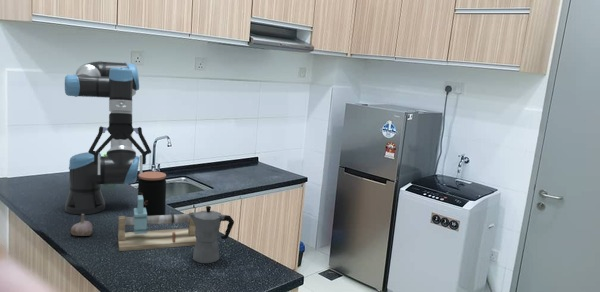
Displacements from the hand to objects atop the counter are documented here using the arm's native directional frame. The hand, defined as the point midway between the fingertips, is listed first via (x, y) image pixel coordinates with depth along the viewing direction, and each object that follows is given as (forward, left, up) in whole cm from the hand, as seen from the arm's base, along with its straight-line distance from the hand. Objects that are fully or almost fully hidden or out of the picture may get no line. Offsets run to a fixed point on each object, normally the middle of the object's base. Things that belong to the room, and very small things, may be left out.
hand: (120, 174), depth 163 cm
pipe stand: (+4, +13, -24) cm, 27 cm away
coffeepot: (+22, +28, -24) cm, 43 cm away
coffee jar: (-21, +13, -24) cm, 34 cm away
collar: (+4, +7, -19) cm, 21 cm away
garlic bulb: (-7, -12, -24) cm, 28 cm away
